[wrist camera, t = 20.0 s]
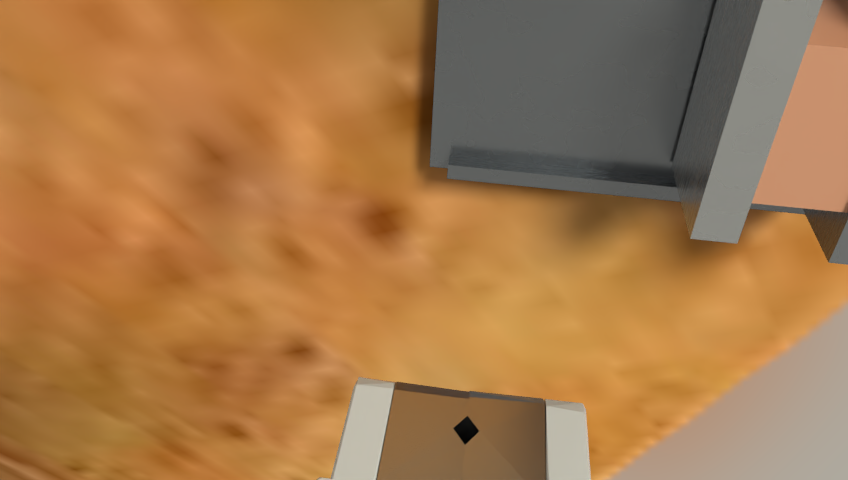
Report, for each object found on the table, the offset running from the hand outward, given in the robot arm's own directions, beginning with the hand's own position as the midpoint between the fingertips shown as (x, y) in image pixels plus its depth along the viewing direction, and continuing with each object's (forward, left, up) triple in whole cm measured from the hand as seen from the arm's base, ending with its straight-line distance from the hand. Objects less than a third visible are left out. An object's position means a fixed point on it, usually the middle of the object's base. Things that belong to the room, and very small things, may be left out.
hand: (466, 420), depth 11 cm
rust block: (+13, -6, -28) cm, 31 cm away
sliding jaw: (+10, -6, -27) cm, 30 cm away
